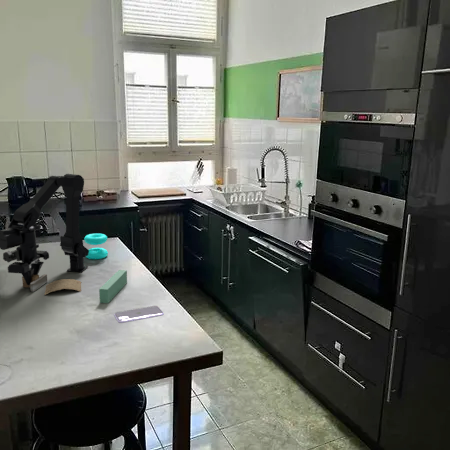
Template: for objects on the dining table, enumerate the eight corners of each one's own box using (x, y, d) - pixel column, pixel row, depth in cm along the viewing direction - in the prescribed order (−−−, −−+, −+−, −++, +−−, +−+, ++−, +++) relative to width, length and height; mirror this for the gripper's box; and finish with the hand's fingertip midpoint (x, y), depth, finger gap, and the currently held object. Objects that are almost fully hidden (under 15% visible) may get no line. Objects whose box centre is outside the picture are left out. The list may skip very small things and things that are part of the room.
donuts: (103, 238, 199) (80, 238, 200) (104, 260, 202) (82, 259, 202) (109, 233, 209) (88, 232, 209) (110, 253, 211) (89, 253, 212)
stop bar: (119, 282, 176) (119, 269, 175) (127, 282, 176) (126, 270, 175) (99, 302, 157) (99, 288, 156) (108, 303, 157) (107, 289, 155)
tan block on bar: (17, 290, 165) (16, 280, 164) (32, 280, 175) (31, 271, 174) (33, 291, 165) (32, 281, 164) (47, 281, 174) (46, 271, 173)
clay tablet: (82, 283, 176) (82, 276, 175) (84, 293, 167) (84, 286, 166) (42, 287, 171) (42, 280, 170) (42, 297, 162) (41, 290, 161)
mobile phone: (164, 312, 148) (119, 321, 142) (164, 315, 149) (119, 324, 142) (157, 304, 155) (113, 312, 148) (157, 307, 155) (113, 314, 149)
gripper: (20, 235, 176) (24, 273, 180) (-9, 249, 158) (-5, 291, 162) (48, 236, 175) (51, 275, 178) (21, 250, 157) (25, 293, 160)
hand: (31, 283), depth 170 cm, fingers closed on tan block on bar, 3 cm apart
